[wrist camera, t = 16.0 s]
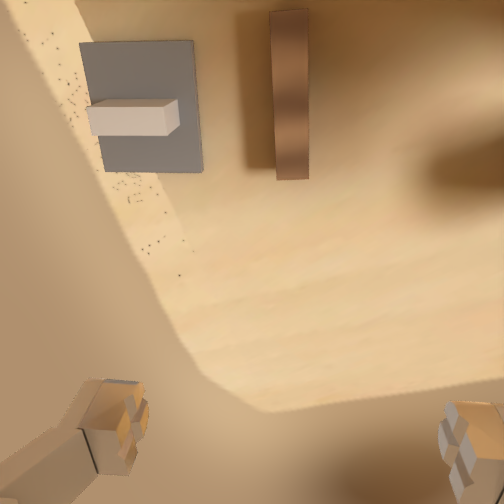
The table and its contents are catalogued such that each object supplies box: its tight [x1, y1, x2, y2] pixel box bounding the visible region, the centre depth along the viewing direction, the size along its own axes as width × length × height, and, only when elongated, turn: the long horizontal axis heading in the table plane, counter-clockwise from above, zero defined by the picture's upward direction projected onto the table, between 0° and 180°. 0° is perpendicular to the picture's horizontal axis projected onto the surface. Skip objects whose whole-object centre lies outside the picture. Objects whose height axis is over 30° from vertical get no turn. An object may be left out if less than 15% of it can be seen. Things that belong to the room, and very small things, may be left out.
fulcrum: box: [79, 40, 204, 173], centre depth 43 cm, size 12×14×6 cm
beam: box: [269, 9, 309, 180], centre depth 42 cm, size 16×4×4 cm, turn 4°
